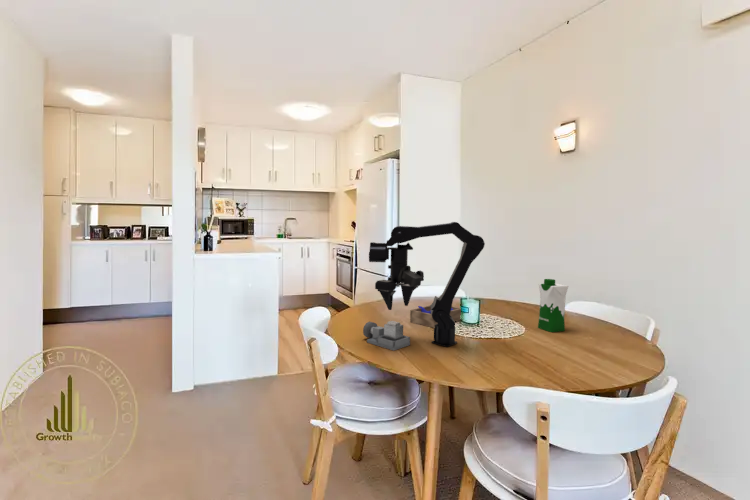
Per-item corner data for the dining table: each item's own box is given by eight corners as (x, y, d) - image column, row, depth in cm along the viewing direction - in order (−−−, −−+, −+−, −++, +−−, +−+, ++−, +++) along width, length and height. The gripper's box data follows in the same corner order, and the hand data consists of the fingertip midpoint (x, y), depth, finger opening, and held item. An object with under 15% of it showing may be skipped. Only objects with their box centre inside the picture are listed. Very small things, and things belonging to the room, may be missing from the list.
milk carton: (534, 327, 162) (536, 278, 160) (551, 325, 165) (554, 277, 164) (551, 333, 154) (553, 281, 152) (568, 331, 157) (571, 280, 156)
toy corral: (461, 319, 172) (462, 308, 172) (435, 328, 158) (435, 315, 158) (437, 314, 181) (437, 303, 181) (410, 322, 167) (410, 310, 166)
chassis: (410, 345, 136) (410, 331, 135) (393, 350, 129) (394, 336, 129) (380, 336, 145) (381, 324, 145) (364, 341, 139) (364, 328, 138)
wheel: (377, 336, 144) (378, 321, 143) (367, 339, 140) (367, 324, 139) (372, 335, 145) (373, 320, 145) (362, 338, 141) (362, 322, 141)
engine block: (402, 342, 135) (403, 322, 134) (395, 345, 132) (395, 324, 132) (391, 339, 138) (392, 319, 138) (383, 341, 135) (384, 321, 135)
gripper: (401, 266, 125) (400, 316, 126) (433, 262, 139) (432, 307, 140) (374, 263, 132) (373, 310, 134) (407, 260, 146) (407, 302, 148)
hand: (398, 307), depth 139 cm, fingers open, 9 cm apart
